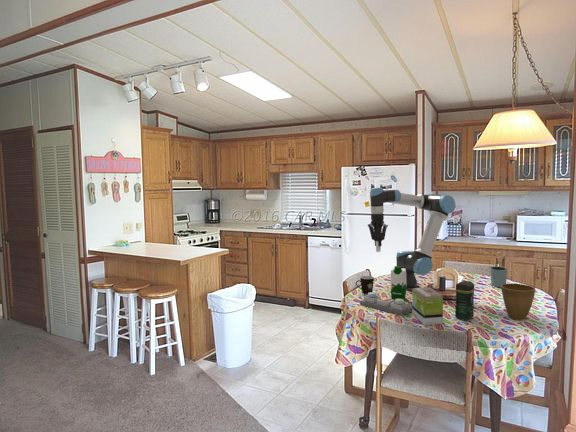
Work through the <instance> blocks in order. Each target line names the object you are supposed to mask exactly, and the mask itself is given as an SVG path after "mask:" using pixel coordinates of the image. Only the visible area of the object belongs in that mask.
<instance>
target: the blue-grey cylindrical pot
mask: <svg viewBox="0 0 576 432" xmlns="http://www.w3.org/2000/svg"><path fill="white" fill-rule="evenodd" d="M489 272H490V286H491V287H493V286H494V287H493V288H497V287H501V285H503V284H507V278H508V268H507V267H503V266H490V267H489Z"/></svg>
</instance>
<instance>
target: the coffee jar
mask: <svg viewBox="0 0 576 432" xmlns="http://www.w3.org/2000/svg"><path fill="white" fill-rule="evenodd" d="M474 294H475V284H474V283H473V282H472V281H469V280H462V281H459V282H457V283H456V285H455V309H454V311H455V312H454V316H455V317H456V318H457V319H459V320H462V319H464V320H467V321H469V320H472V319H473V318H474V316H475V315H474V313H475V309H474V303H475V301H474V298H475V297H474V296H475V295H474Z"/></svg>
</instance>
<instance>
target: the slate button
mask: <svg viewBox="0 0 576 432" xmlns="http://www.w3.org/2000/svg"><path fill="white" fill-rule="evenodd" d="M367 295H368V297H370V298H376V295H377V292H374V291H372V292H369V293H368V294H367Z"/></svg>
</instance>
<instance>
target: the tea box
mask: <svg viewBox="0 0 576 432" xmlns="http://www.w3.org/2000/svg"><path fill="white" fill-rule="evenodd" d="M411 289H412V290H411V291H412V292H411V295H412V299H411V300H412V302H411V304H412V306H411V307H412V313H411V314H412V316H413V317H414V318H416V320H417V321H419V322H420V323H421V324H422V325H424V326H431V325H442V324H444V295H442V294H441V293H439V292H438V291H436V290H435V289H433V288H431V287H419V288H416V287H412V288H411Z"/></svg>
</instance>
